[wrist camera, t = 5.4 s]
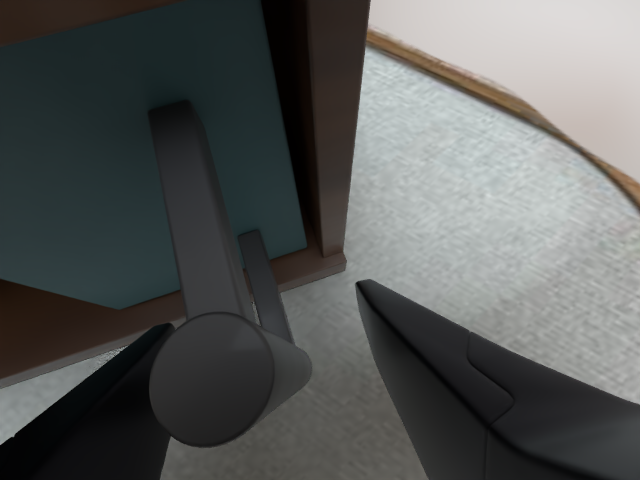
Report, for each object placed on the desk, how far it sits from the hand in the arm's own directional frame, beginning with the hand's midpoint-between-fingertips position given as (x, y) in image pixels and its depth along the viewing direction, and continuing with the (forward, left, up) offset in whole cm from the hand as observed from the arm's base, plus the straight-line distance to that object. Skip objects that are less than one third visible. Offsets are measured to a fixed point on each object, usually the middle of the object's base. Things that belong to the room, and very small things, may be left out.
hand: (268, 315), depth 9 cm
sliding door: (+2, +1, -5) cm, 6 cm away
